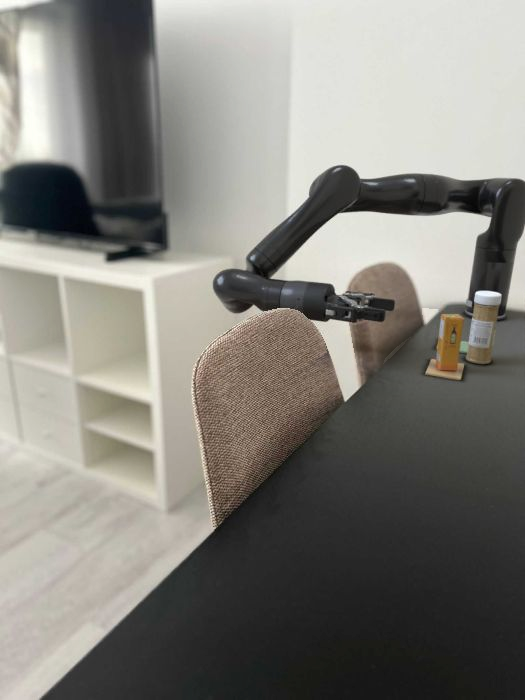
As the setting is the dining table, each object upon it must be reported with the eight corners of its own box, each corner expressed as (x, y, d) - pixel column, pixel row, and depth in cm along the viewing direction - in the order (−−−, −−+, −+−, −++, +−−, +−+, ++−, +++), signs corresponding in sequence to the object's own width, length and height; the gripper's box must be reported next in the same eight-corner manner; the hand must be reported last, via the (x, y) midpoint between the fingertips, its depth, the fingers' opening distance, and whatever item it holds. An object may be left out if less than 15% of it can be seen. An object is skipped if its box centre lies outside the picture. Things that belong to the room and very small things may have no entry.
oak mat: (431, 360, 99) (431, 358, 99) (464, 365, 96) (464, 363, 96) (425, 374, 92) (425, 372, 92) (460, 380, 90) (461, 378, 89)
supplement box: (452, 365, 96) (460, 313, 92) (457, 371, 92) (465, 318, 89) (434, 364, 96) (441, 312, 92) (438, 371, 93) (445, 317, 89)
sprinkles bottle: (494, 361, 99) (506, 293, 95) (484, 366, 96) (495, 296, 92) (471, 355, 102) (481, 288, 98) (460, 360, 99) (471, 292, 95)
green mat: (439, 339, 111) (440, 337, 111) (469, 343, 109) (469, 341, 109) (436, 349, 105) (436, 347, 105) (467, 353, 103) (467, 351, 103)
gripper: (295, 288, 94) (383, 298, 88) (320, 275, 106) (399, 283, 100) (293, 327, 97) (379, 340, 90) (318, 310, 109) (395, 320, 102)
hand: (389, 310), depth 95 cm, fingers open, 8 cm apart
